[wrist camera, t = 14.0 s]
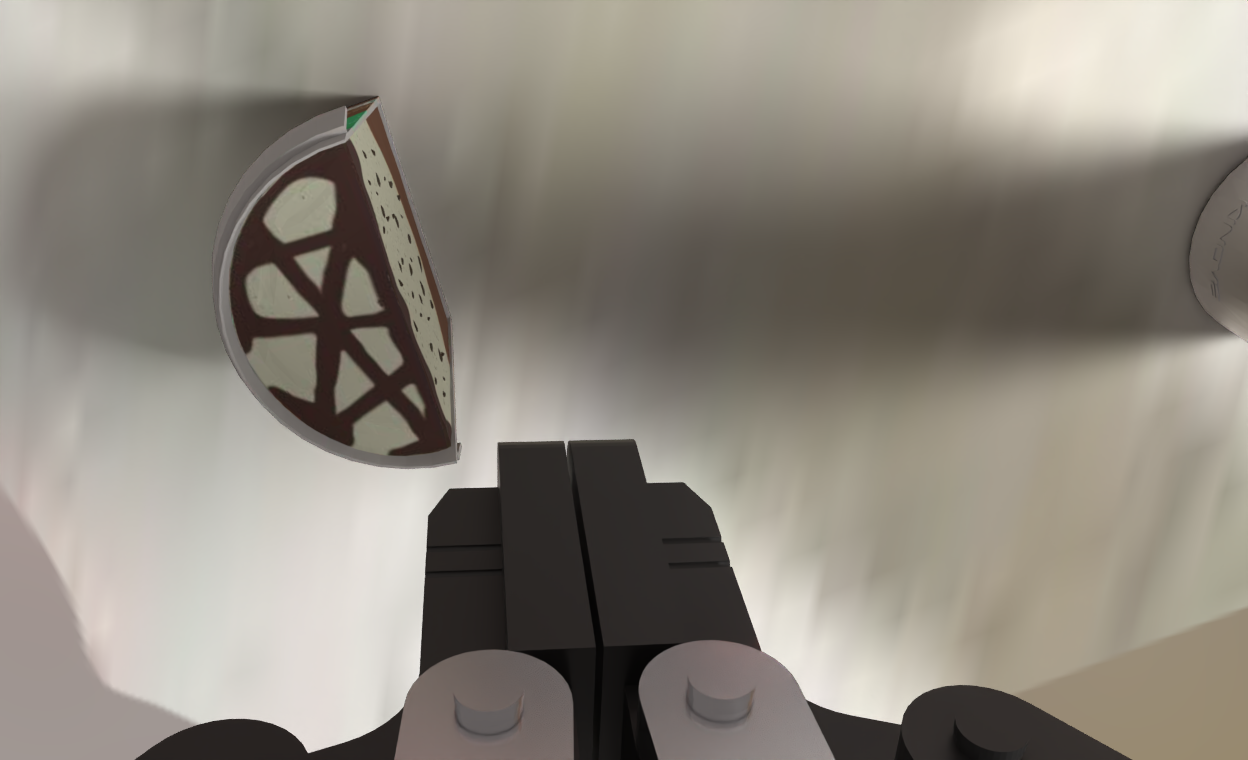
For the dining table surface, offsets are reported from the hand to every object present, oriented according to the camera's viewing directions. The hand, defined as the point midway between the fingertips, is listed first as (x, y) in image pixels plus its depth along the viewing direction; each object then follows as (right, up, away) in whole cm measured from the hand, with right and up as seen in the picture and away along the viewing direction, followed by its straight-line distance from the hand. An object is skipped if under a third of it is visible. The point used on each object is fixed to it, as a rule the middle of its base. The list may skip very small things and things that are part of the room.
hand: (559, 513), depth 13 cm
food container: (-10, +7, +32) cm, 35 cm away
